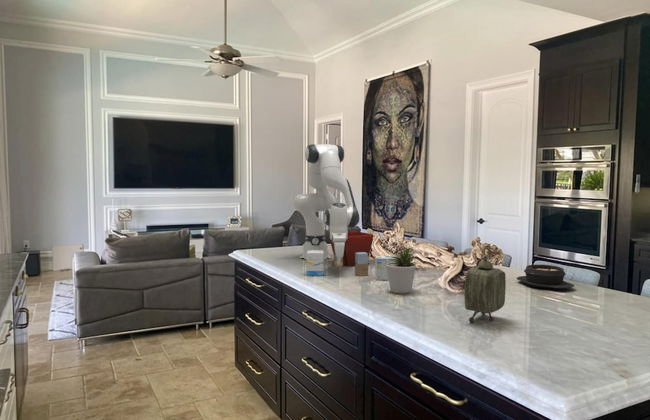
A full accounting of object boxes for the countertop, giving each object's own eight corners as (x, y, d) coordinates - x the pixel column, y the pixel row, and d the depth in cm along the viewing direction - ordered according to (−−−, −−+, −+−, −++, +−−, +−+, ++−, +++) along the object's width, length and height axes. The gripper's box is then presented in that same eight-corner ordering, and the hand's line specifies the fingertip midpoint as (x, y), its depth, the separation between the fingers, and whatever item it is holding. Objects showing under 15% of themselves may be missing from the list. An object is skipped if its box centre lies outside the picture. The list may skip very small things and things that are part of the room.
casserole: (506, 282, 219) (507, 264, 219) (533, 278, 228) (534, 261, 228) (556, 294, 197) (556, 274, 197) (583, 289, 206) (584, 270, 206)
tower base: (354, 273, 241) (354, 262, 241) (366, 273, 241) (366, 261, 241) (356, 276, 235) (356, 264, 235) (368, 276, 235) (368, 264, 235)
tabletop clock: (480, 313, 172) (481, 244, 170) (505, 317, 166) (507, 246, 164) (463, 322, 160) (465, 249, 159) (490, 328, 155) (492, 251, 153)
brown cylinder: (334, 265, 243) (334, 255, 243) (342, 265, 243) (342, 255, 243) (334, 266, 239) (334, 257, 239) (343, 266, 239) (343, 257, 239)
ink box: (323, 276, 236) (323, 252, 235) (306, 276, 236) (306, 252, 235) (324, 272, 244) (324, 250, 243) (307, 272, 244) (307, 250, 243)
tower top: (355, 262, 240) (355, 252, 239) (364, 261, 241) (364, 252, 240) (358, 264, 235) (358, 254, 234) (367, 263, 236) (367, 253, 235)
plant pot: (328, 262, 274) (328, 232, 272) (357, 259, 282) (357, 231, 280) (343, 267, 256) (343, 236, 255) (374, 264, 264) (374, 234, 263)
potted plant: (418, 295, 196) (419, 247, 195) (384, 294, 199) (385, 246, 197) (418, 288, 208) (419, 243, 207) (387, 287, 211) (387, 242, 210)
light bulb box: (397, 277, 231) (397, 255, 230) (398, 280, 225) (398, 258, 224) (375, 277, 232) (375, 255, 231) (375, 280, 226) (375, 257, 225)
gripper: (331, 232, 250) (331, 258, 251) (333, 238, 230) (333, 266, 231) (343, 232, 250) (343, 258, 251) (346, 238, 230) (346, 266, 231)
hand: (338, 262), depth 241 cm, fingers closed on brown cylinder, 4 cm apart
